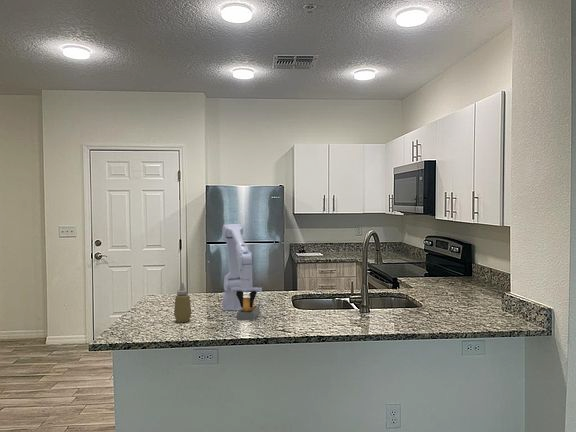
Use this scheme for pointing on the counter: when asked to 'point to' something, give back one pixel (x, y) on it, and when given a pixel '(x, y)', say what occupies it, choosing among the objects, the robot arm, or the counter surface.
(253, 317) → the housing
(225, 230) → the robot arm
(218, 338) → the counter surface
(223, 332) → the counter surface
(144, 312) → the counter surface
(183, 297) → the squeeze bottle
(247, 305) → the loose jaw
